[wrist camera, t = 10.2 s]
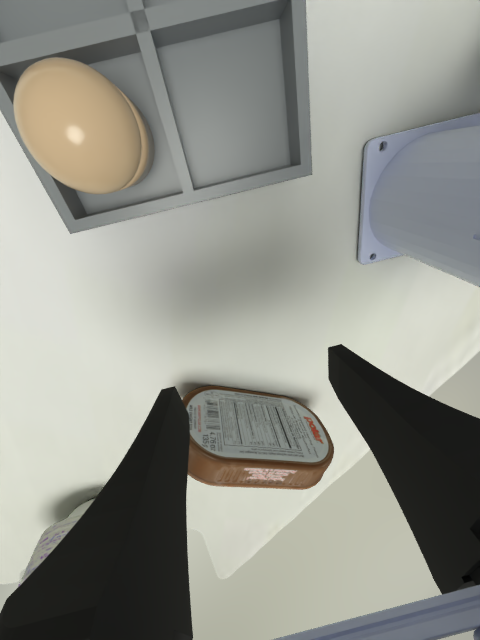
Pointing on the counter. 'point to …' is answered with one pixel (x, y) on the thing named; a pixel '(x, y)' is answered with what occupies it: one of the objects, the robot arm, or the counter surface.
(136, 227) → the counter surface
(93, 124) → the egg
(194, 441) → the tin
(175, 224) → the counter surface
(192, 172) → the grey compartment tray
